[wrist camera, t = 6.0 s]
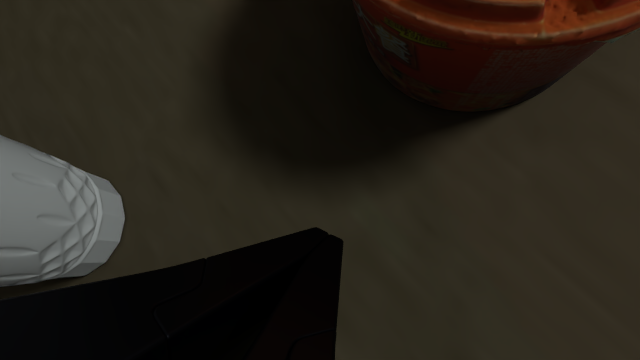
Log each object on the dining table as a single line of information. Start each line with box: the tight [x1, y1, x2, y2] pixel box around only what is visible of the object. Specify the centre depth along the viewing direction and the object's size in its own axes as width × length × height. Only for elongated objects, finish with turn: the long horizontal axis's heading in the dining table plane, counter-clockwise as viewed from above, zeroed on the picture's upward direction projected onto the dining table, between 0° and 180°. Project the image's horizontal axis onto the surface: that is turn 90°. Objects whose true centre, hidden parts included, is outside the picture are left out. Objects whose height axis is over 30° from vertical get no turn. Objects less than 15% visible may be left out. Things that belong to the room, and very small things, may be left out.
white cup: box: [0, 135, 125, 287], centre depth 20 cm, size 8×8×10 cm
